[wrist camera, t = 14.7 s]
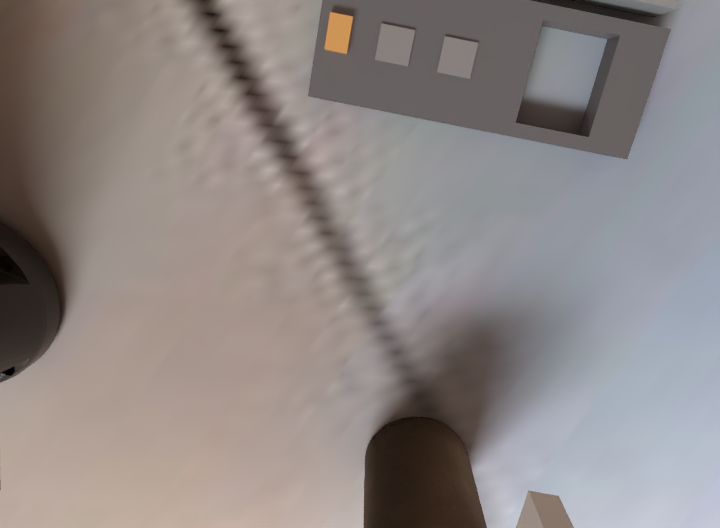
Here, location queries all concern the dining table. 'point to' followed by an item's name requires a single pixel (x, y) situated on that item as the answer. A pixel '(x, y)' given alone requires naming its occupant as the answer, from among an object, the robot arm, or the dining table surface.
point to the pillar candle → (419, 478)
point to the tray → (638, 6)
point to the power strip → (479, 65)
